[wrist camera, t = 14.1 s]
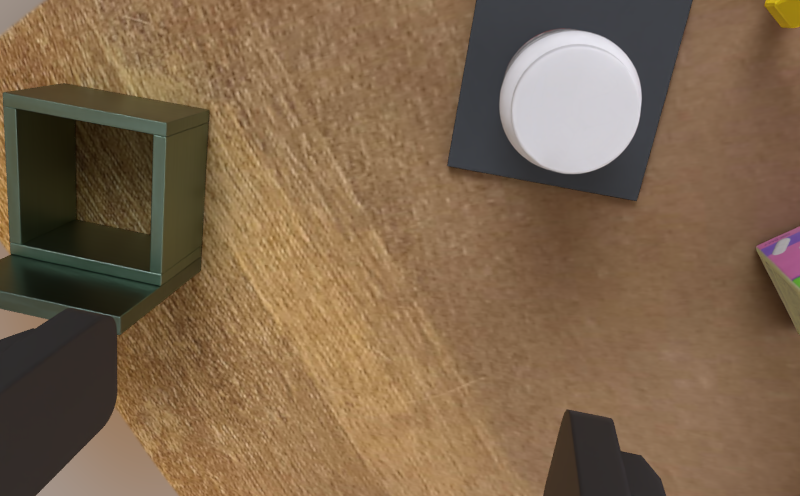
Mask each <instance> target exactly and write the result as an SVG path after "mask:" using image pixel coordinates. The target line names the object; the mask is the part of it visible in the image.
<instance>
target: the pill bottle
mask: <svg viewBox="0 0 800 496" xmlns="http://www.w3.org/2000/svg"><path fill="white" fill-rule="evenodd" d="M641 101H642V93H641V85H640V80H639V77H638V74H637V71H636V69H635V67H634V65H633V63H632V62H631V60H630V59H629V58H628V56H627V55H626V54H625V53H624V52H623V51H622V50H621V49H620V48H619V47H618V46H617V45H616V44H614V43H613V42H611V41H610V40H608V39H606V38H605V37H602V36H600V35H597V34H595V33H591V32H587V31H581V30H576V29H556V30H550V31H547V32H544V33H542V34H539V35H537V36H535V37H534V38H532V39H530V40H529V41H528V42H527V43H525V44H524V45H523V46H522V47H521V48H520V49H519V50H518V51H517V52H516V54H515V55H514V56H513V58H512V59H511V61H510V63H509V65H508V67H507V70H506V72H505V76H504V79H503V83H502V86H501V90H500V101H499V111H500V119H501V122H502V126H503V129H504V131H505V134H506V136H507V138H508V140H509V141H510V143H511V144H512V145H513V147H514V148H515V149H516V150H517V151H518V153H520V154H521V155H522V156H523V157H524V158H526V159H527V160H528V161H530V162H531V163H533V164H535V165H537V166H539V167H541V168H544V169H547V170H551V171H554V172H559V173H564V174H581V173H586V172H590V171H593V170H596V169H599V168H601V167H603V166H605V165H607V164H608V163H610V162H611V161H613V160H614V159H615V158H617V157H618V156H619V155H620V154H621V153H622V152H623V151H624V150H625V148H626V147H627V146H628V145H629V143H630V141H631V140H632V138H633V136H634V134H635V132H636V129H637V127H638V123H639V119H640V112H641Z"/></svg>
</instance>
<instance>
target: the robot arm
mask: <svg viewBox="0 0 800 496" xmlns="http://www.w3.org/2000/svg"><path fill="white" fill-rule="evenodd" d="M116 399H117V327H116V323H115V320H114V319H113V317H111V316H109V315H104V314H99V313H94V312H89V311H84V310H79V309H75V308H67V309H65V310H63V311H61V312H60V313H58V314H57V315H55V316H54V317H52V318H51V319H49V320H48V321H46V322H45V323H43V324H42V325H40V326H39V327H37V328H36V329H30V330H27V331H24V332H21V333H18V334H15V335H12V336H10V337H7V338H4V339H1V340H0V496H36V495H37V494H38V493H39V492H40V491H41V490H42V489H43V488H44V487H45V486H46V485H47V484H48V483H49V481H50V480H52V478H54V477H55V476H56V474H57V473H59V471H60V470H61V469H62V468H63V467H64V466H65V465H66V464H67V463H68V462H69V461H70V460H71V459H72V458H73V457H74V456H75V455H76V454H77V453H78V452H79V451H80V450H81V449H82V448H83V447H84V446H85V445H86V444H87V443H88V442H89V441H90V440H91V439H92V438H93V437H94V436H95V435H96V434H97V433H98V432H99V431H100V430H101V429H102V428H103V427H104V426H105V424H106V423H107V421H108V420H109V418H110V416H111V414H112V412H113V409H114V406H115V403H116ZM543 496H666V494H665V491H664V488H663V484H662V481H661V478H660V477H659V476H658V475H657V474H656V473H655V471H654V470H653V469H652V468H651V467H650V465H649V464H648V463H647V462H646V461H645V459H644V458H643V457H642V456H641V455H636V454H632V453H627V452H622V451H620V447H619V443H618V438H617V434H616V430H615V426H614V422H613V420H612V419H611V418H607V417H602V416H598V415H593V414H588V413H583V412H578V411H573V410H566V411H565V413H564V416H563V419H562V422H561V426H560V430H559V434H558V438H557V441H556V445H555V449H554V453H553V457H552V461H551V465H550V469H549V473H548V477H547V481H546V485H545V490H544V495H543Z"/></svg>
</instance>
